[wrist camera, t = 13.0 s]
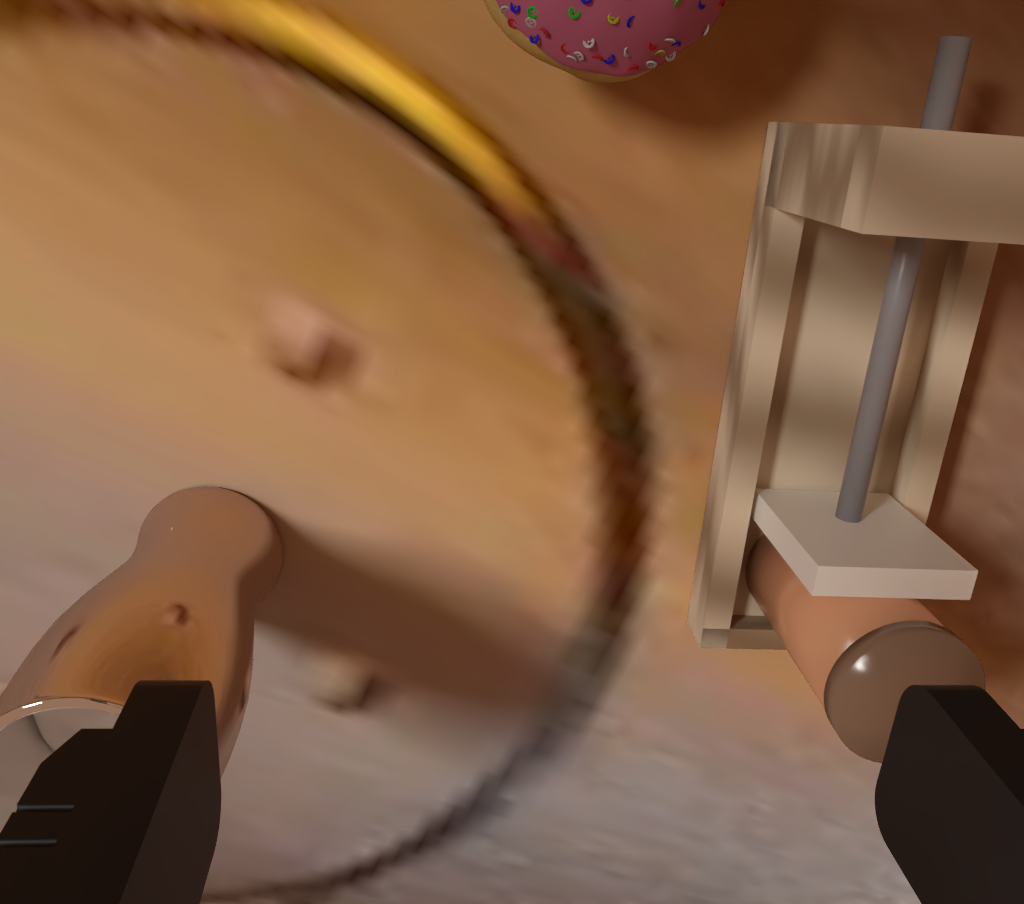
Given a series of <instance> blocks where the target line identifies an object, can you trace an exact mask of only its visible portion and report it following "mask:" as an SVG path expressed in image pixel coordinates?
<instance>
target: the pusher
mask: <svg viewBox="0 0 1024 904" xmlns="http://www.w3.org/2000/svg"><path fill="white" fill-rule="evenodd" d="M972 39H973V38H971V37H964V36H941V37H940V39H939V44H938V48H937V53H936V57H935V62H934V67H933V71H932V76H931V80H930V85H929V89H928V94H927V98H926V103H925V108H924V112H923V117H922V121H921V126H920V129H932V130H945V131H951V130H952V125H953V121H954V117H955V112H956V108H957V104H958V99H959V95H960V91H961V86H962V82H963V78H964V74H965V69H966V65H967V61H968V56H969V52H970V48H971V43H972ZM925 242H926V238H916V237H902V236H896V240H895V244H894V249H893V253H892V258H891V262H890V267H889V271H888V276H887V281H886V285H885V290H884V294H883V299H882V303H881V308H880V312H879V317H878V322H877V326H876V331H875V335H874V340H873V344H872V349H871V353H870V358H869V363H868V367H867V372H866V376H865V381H864V385H863V390H862V394H861V399H860V404H859V408H858V413H857V417H856V422H855V426H854V431H853V435H852V440H851V445H850V449H849V454H848V458H847V463H846V467H845V472H844V476H843V481H842V485H841V490H840V492H838V491H812V490H787V489H761V488H755V493H754V499H753V504H752V509H751V515H750V516H751V517H752V518H753V519H754V521H755V522H756V523H757V525H758V526H759V527H760V529H761V530H762V531H763V533H764V534H765V535H766V536H767V538H768V539H769V540H770V542H771V543H772V544H773V546H774V547H775V548H776V550H777V551H778V552H779V553H780V555H781V556H782V557H783V559H784V560H785V561H786V563H787V564H788V565H789V566H790V568H791V569H792V570H793V572H794V573H795V574H796V576H797V577H798V578H799V580H800V581H801V582H802V583H803V585H804V586H805V587H806V589H807V590H808V591H809V593H810V594H811V595H812V596H837V597H874V598H911V599H948V600H970V599H971V595H972V592H973V588H974V585H975V581H976V578H977V574H978V570H977V569H976V568H974V567H973V566H972V565H971V564H970V563H969V562H967V561H966V560H965V559H964V558H963V557H962V556H960V555H959V554H958V553H957V552H956V551H955V550H953V549H952V548H951V547H950V546H949V545H948V544H946V543H945V542H944V541H943V540H942V539H941V538H939V537H938V536H937V535H936V534H935V533H934V532H932V531H931V530H930V529H929V528H928V527H927V526H925V525H924V524H923V523H922V522H921V521H920V520H918V519H917V518H916V517H915V516H914V515H913V514H911V513H910V512H909V511H908V510H907V509H906V508H904V507H903V506H902V505H901V504H900V503H898V502H897V501H896V500H895V499H894V498H893V497H891V496H890V495H889V494H888V493H868V488H869V484H870V480H871V475H872V471H873V467H874V462H875V458H876V454H877V449H878V445H879V441H880V437H881V432H882V428H883V424H884V419H885V415H886V411H887V406H888V402H889V398H890V393H891V389H892V385H893V380H894V376H895V372H896V367H897V363H898V359H899V354H900V350H901V346H902V341H903V337H904V333H905V328H906V324H907V320H908V316H909V311H910V307H911V303H912V298H913V294H914V290H915V285H916V281H917V277H918V272H919V268H920V264H921V259H922V255H923V251H924V246H925Z"/></svg>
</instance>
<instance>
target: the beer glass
mask: <svg viewBox="0 0 1024 904" xmlns="http://www.w3.org/2000/svg"><path fill="white" fill-rule="evenodd" d="M282 563H283V547H282V541H281V538H280V535H279V532H278V530H277V528H276V526H275V524H274V522H273V521H272V519H271V518H270V517H269V515H268V514H267V513H266V512H265V511H264V510H263V509H262V508H261V507H260V506H259V505H258V504H256V503H255V502H254V501H252V500H251V499H249V498H247V497H245V496H243V495H241V494H239V493H237V492H234V491H231V490H228V489H224V488H219V487H208V486H203V487H193V488H188V489H184V490H181V491H178V492H176V493H173V494H171V495H170V496H168V497H166V498H165V499H163V500H162V501H160V502H159V503H158V504H157V505H156V506H155V507H154V508H153V509H152V510H151V511H150V512H149V513H148V515H147V516H146V518H145V520H144V522H143V524H142V526H141V529H140V532H139V536H138V541H137V545H136V548H135V550H134V552H133V554H132V556H131V557H130V558H129V559H127V561H126V562H125V563H124V564H122V565H121V566H120V567H119V568H117V569H116V570H115V571H113V572H112V573H111V574H109V575H108V576H107V577H106V578H104V579H103V580H102V581H100V582H99V583H98V584H97V585H95V586H94V587H93V588H92V589H90V590H89V591H88V592H87V593H85V594H84V595H83V596H82V597H80V598H79V599H78V600H77V601H76V602H75V603H74V604H73V605H72V606H71V607H70V608H69V609H67V610H66V611H65V612H64V613H63V614H62V615H61V616H60V617H59V618H58V619H57V620H56V621H55V622H54V623H53V624H52V626H51V627H50V628H49V629H48V630H47V631H46V633H45V634H44V635H43V636H42V637H41V639H40V640H39V641H38V642H37V643H36V645H35V646H34V647H33V648H32V650H31V651H30V653H29V654H28V655H27V657H26V658H25V660H24V661H23V663H22V664H21V666H20V667H19V668H18V670H17V671H16V673H15V674H14V676H13V677H12V679H11V680H10V682H9V684H8V685H7V687H6V689H5V690H4V692H3V694H2V695H1V697H0V833H1V831H2V829H3V828H4V826H5V824H6V822H7V821H8V819H9V817H10V815H11V814H12V812H16V810H17V803H18V802H19V800H20V798H21V796H22V795H23V793H24V791H25V790H26V788H27V786H28V784H29V783H30V781H31V779H32V777H33V776H34V774H35V772H36V771H37V769H38V767H39V765H40V764H41V762H43V761H44V760H45V759H46V758H47V757H49V756H50V755H51V754H52V753H53V752H54V751H56V750H57V749H58V748H59V747H60V746H61V745H63V744H64V743H65V742H66V741H67V740H69V739H70V738H71V737H72V736H73V735H74V734H76V733H77V732H78V731H79V730H80V729H113V727H114V725H115V723H116V721H117V719H118V717H119V715H120V713H121V711H122V709H123V707H124V705H125V703H126V701H127V699H128V697H129V695H130V693H131V691H132V689H133V687H134V685H135V684H136V683H137V682H138V681H140V680H209V681H210V682H211V683H212V686H213V690H214V697H215V710H216V724H217V738H218V752H219V766H220V780H221V777H222V775H223V773H224V771H225V768H226V766H227V764H228V761H229V759H230V756H231V754H232V751H233V748H234V746H235V743H236V740H237V737H238V735H239V732H240V729H241V725H242V721H243V718H244V714H245V710H246V707H247V703H248V699H249V692H250V684H251V677H252V669H253V649H254V622H255V613H256V610H257V608H258V606H259V605H260V603H261V602H262V601H263V600H264V598H265V597H266V596H267V595H268V593H269V592H270V591H271V590H272V588H273V587H274V585H275V583H276V581H277V579H278V577H279V575H280V572H281V568H282Z"/></svg>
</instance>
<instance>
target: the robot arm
mask: <svg viewBox="0 0 1024 904" xmlns="http://www.w3.org/2000/svg"><path fill="white" fill-rule="evenodd" d="M875 810H876V816H877V821H878V825H879V828H880V832H881V834H882V837H883V839H884V841H885V843H886V845H887V847H888V848H889V850H890V852H891V853H892V855H893V857H894V858H895V860H896V862H897V863H898V865H899V867H900V868H901V870H902V872H903V873H904V875H905V877H906V878H907V880H908V882H909V883H910V885H911V887H912V888H913V890H914V892H915V893H916V895H917V897H918V898H919V900H920V902H921V903H922V904H1024V729H1020V728H1019V727H1018V726H1017V724H1016V723H1015V722H1014V721H1013V720H1012V719H1011V718H1010V717H1009V716H1008V715H1007V714H1006V712H1005V711H1004V710H1003V709H1002V708H1001V707H1000V706H999V705H998V704H997V703H996V702H995V700H994V699H993V698H992V697H991V696H990V695H989V694H988V693H987V692H986V691H985V690H984V689H982V688H980V687H978V686H975V685H911V686H909V687H908V688H906V690H905V691H904V692H903V694H902V695H901V698H900V701H899V704H898V707H897V711H896V715H895V718H894V722H893V726H892V729H891V733H890V736H889V740H888V744H887V747H886V751H885V755H884V758H883V762H882V766H881V769H880V773H879V777H878V780H877V784H876V790H875ZM220 812H221V780H220V766H219V752H218V738H217V724H216V710H215V697H214V690H213V686H212V683H211V682H210V681H209V680H140V681H138V682H137V683H136V684H135V685H134V687H133V689H132V691H131V693H130V695H129V697H128V699H127V701H126V703H125V705H124V707H123V709H122V711H121V713H120V715H119V717H118V719H117V721H116V723H115V725H114V727H113V729H80V730H79V731H78V732H77V733H76V734H74V735H73V736H72V737H71V738H70V739H69V740H67V741H66V742H65V743H64V744H63V745H61V746H60V747H59V748H58V749H57V750H56V751H54V752H53V753H52V754H51V755H50V756H49V757H47V758H46V759H45V760H44V761H43V762H41V764H40V765H39V767H38V769H37V771H36V772H35V774H34V776H33V777H32V779H31V781H30V783H29V784H28V786H27V788H26V790H25V791H24V793H23V795H22V796H21V798H20V800H19V802H18V803H17V810H16V812H12V814H11V815H10V817H9V819H8V821H7V822H6V824H5V826H4V828H3V829H2V831H1V833H0V904H199V903H200V900H201V896H202V893H203V889H204V886H205V882H206V879H207V875H208V872H209V868H210V865H211V861H212V858H213V854H214V850H215V846H216V842H217V836H218V830H219V823H220Z"/></svg>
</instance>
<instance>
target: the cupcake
mask: <svg viewBox="0 0 1024 904" xmlns="http://www.w3.org/2000/svg"><path fill="white" fill-rule="evenodd" d="M484 2H485V5H486V7H487V9H488V11H489V13H490V15H491V16H492V18H493V19H494V21H495V22H496V23H497V24H498V26H499V27H500V28H501V29H502V31H503V32H504V33H505V34H506V35H507V36H508V38H509V39H511V40H512V41H513V42H514V43H515V44H516V45H518V46H519V47H520V48H522V49H523V50H524V51H526V52H527V53H529V54H530V55H532V56H534V57H535V58H537V59H539V60H541V61H543V62H545V63H548V64H550V65H552V66H554V67H557V68H559V69H561V70H564V71H566V72H568V73H570V74H572V75H574V76H576V77H578V78H580V79H582V80H585V81H591V82H602V83H616V82H623V81H628V80H631V79H634V78H637V77H639V76H642V75H644V74H645V73H647V72H649V71H650V70H652V69H654V68H655V67H657V66H658V65H660V64H662V63H663V62H665V61H666V60H667V61H669V62H670V61H673V60H674V59H675V57H676V54H677V53H678V52H680V51H681V50H683V49H684V48H686V47H687V46H689V45H691V44H692V43H694V42H696V41H697V40H698V39H700V38H701V37H702V36H705V35H706V34H707V33H708V31H709V30H710V28H711V27H712V26H713V24H714V23H715V21H716V19H717V17H718V15H719V13H720V11H721V9H722V6H723V5H724V3H725V0H484ZM672 56H673V57H672ZM671 57H672V58H671Z"/></svg>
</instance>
